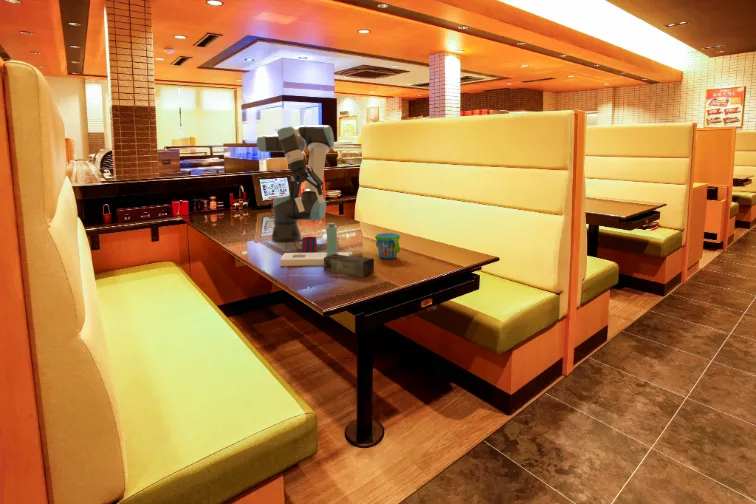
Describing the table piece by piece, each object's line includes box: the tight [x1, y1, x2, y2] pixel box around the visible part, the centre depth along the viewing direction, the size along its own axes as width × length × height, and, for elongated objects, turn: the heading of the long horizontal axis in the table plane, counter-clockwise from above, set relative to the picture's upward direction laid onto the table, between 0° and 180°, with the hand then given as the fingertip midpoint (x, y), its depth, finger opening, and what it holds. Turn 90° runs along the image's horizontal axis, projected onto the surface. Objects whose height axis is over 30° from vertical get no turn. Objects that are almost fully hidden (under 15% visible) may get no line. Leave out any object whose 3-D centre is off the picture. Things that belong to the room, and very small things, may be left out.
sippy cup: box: [374, 232, 401, 260], centre depth 210 cm, size 16×10×10 cm
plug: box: [326, 222, 338, 256], centre depth 201 cm, size 4×4×16 cm
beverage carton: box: [323, 254, 375, 278], centre depth 187 cm, size 8×19×7 cm, turn 60°
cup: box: [294, 236, 318, 253], centre depth 221 cm, size 7×10×7 cm
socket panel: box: [280, 251, 350, 268], centre depth 203 cm, size 12×28×3 cm, turn 93°
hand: (312, 207), depth 214 cm, fingers open, 13 cm apart
